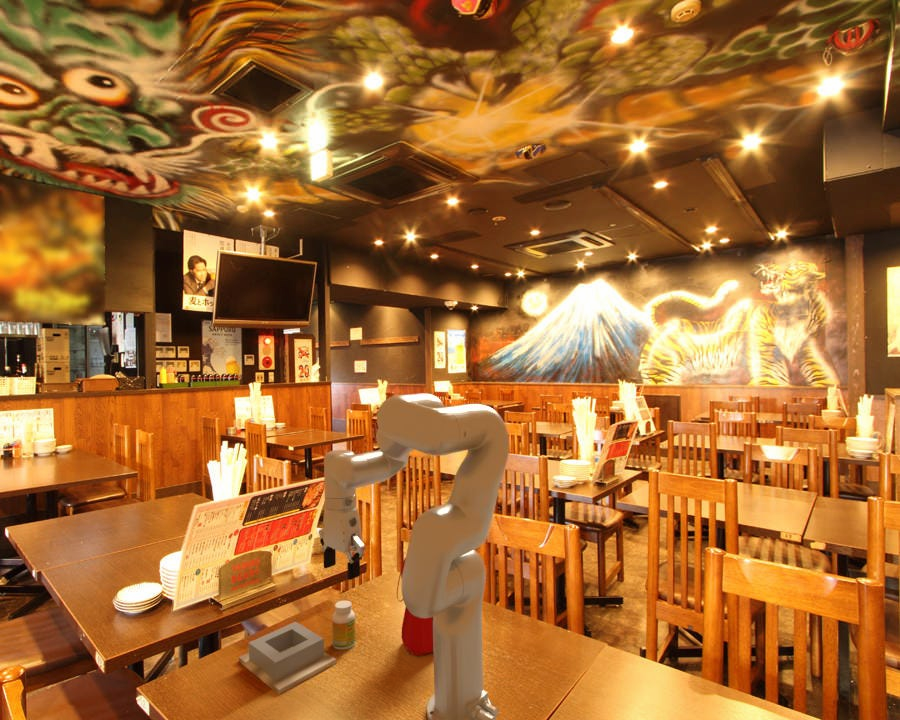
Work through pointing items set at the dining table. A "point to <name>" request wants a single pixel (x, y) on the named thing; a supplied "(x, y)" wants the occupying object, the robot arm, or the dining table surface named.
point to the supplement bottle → (343, 625)
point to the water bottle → (416, 630)
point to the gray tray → (292, 678)
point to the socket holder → (282, 664)
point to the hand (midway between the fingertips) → (341, 571)
